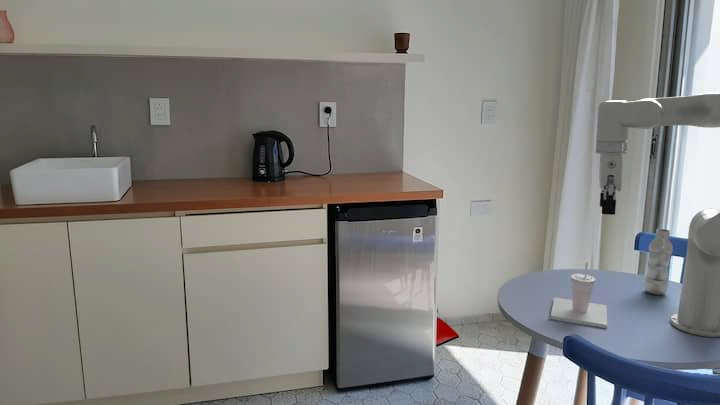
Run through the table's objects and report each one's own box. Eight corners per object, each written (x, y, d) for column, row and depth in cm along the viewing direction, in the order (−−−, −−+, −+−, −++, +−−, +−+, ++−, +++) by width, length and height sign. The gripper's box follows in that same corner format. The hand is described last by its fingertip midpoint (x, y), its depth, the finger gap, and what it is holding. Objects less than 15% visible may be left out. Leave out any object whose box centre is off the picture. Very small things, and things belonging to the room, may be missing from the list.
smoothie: (594, 316, 144) (599, 267, 141) (569, 314, 145) (574, 265, 142) (589, 306, 150) (594, 259, 147) (565, 304, 152) (570, 258, 149)
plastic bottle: (669, 292, 164) (678, 230, 159) (663, 299, 159) (672, 234, 155) (646, 287, 168) (654, 226, 164) (640, 293, 163) (648, 230, 159)
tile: (605, 308, 152) (606, 305, 152) (606, 328, 139) (607, 324, 139) (553, 300, 157) (554, 297, 157) (550, 319, 145) (550, 315, 144)
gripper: (630, 151, 132) (625, 218, 136) (623, 144, 148) (619, 204, 152) (597, 150, 135) (593, 216, 139) (594, 144, 151) (590, 203, 154)
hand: (607, 210), depth 145 cm, fingers open, 9 cm apart
